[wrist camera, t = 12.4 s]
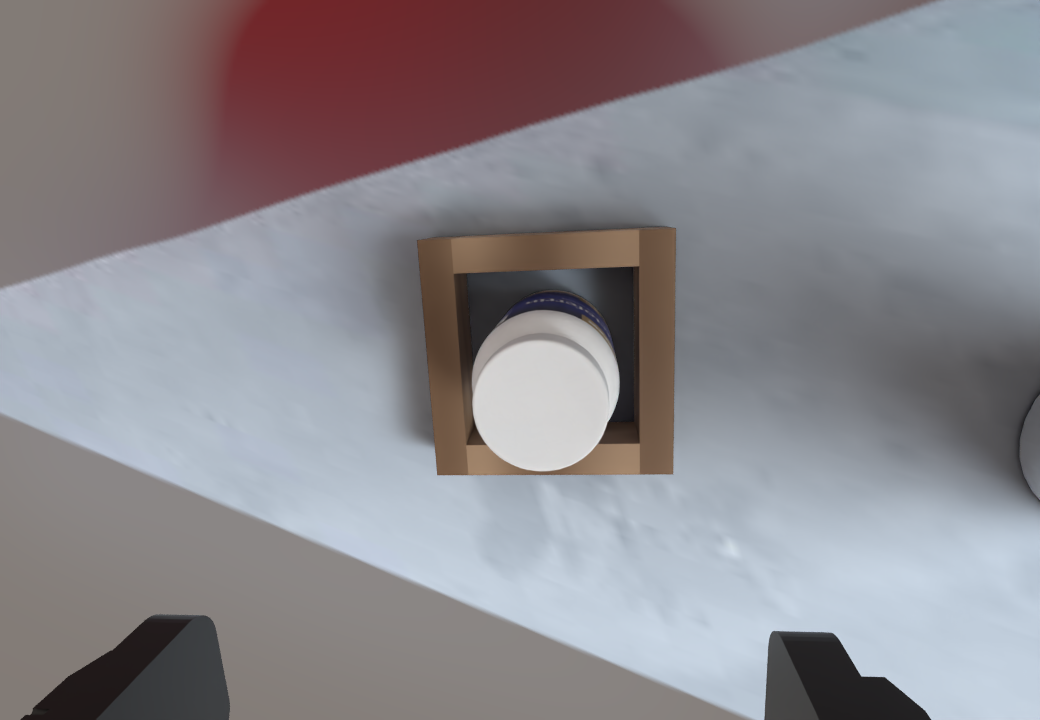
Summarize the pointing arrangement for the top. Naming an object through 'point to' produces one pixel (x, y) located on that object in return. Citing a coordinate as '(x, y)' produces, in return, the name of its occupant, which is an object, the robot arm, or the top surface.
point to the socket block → (643, 248)
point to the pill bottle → (545, 382)
